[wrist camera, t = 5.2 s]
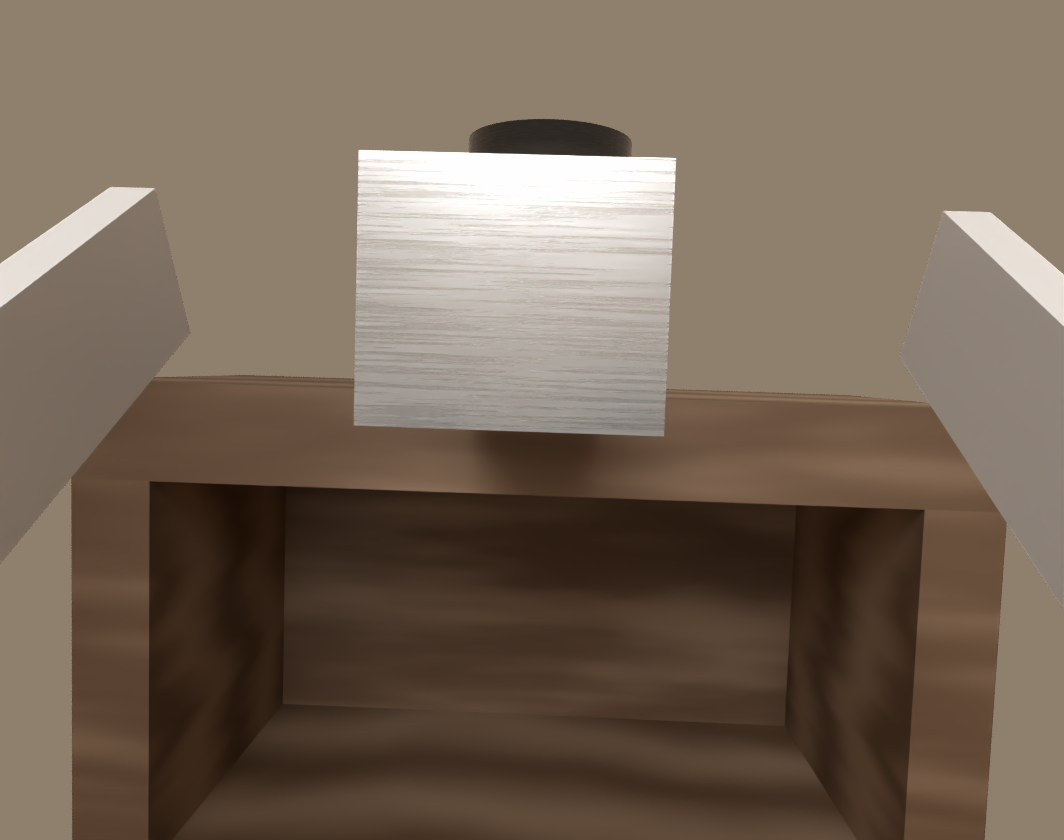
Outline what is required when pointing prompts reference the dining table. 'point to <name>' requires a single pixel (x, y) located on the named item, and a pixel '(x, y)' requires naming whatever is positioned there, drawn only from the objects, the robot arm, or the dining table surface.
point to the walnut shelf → (530, 623)
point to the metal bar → (515, 283)
